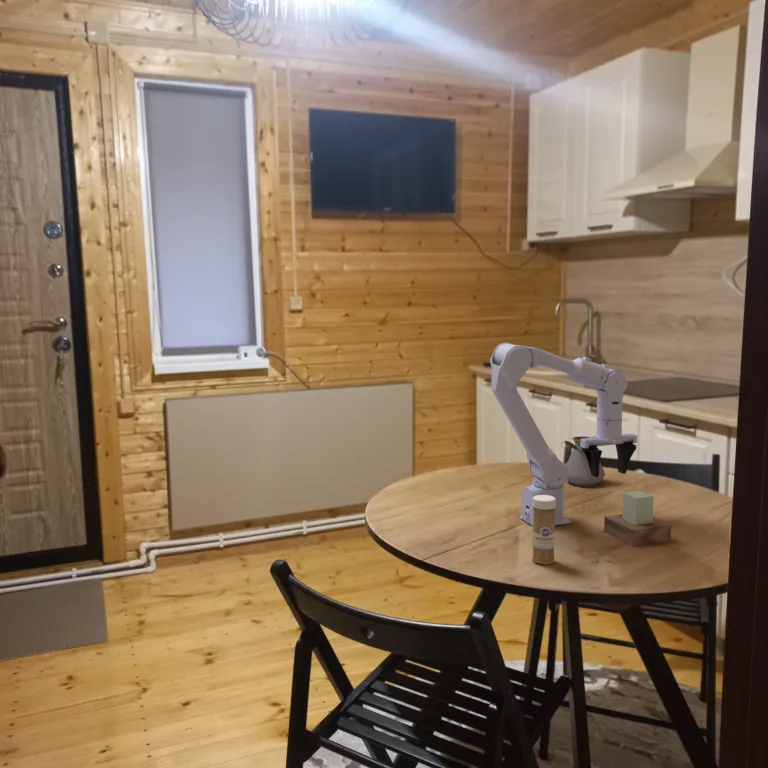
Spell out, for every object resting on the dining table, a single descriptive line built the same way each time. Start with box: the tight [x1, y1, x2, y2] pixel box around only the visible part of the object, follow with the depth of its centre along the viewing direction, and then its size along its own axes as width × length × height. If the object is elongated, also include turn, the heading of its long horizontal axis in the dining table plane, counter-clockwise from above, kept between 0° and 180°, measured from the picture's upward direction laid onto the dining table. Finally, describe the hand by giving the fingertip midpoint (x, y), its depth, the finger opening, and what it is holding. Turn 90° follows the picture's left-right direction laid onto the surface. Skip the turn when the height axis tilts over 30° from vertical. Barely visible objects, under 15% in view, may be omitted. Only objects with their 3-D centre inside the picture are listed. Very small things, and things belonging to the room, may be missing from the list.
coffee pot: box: [560, 436, 606, 487], centre depth 197 cm, size 21×12×15 cm, turn 145°
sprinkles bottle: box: [531, 495, 556, 566], centre depth 143 cm, size 5×5×13 cm
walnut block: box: [603, 513, 672, 547], centre depth 158 cm, size 10×10×4 cm
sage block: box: [622, 490, 654, 525], centre depth 157 cm, size 4×4×6 cm
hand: (608, 474), depth 170 cm, fingers open, 7 cm apart
